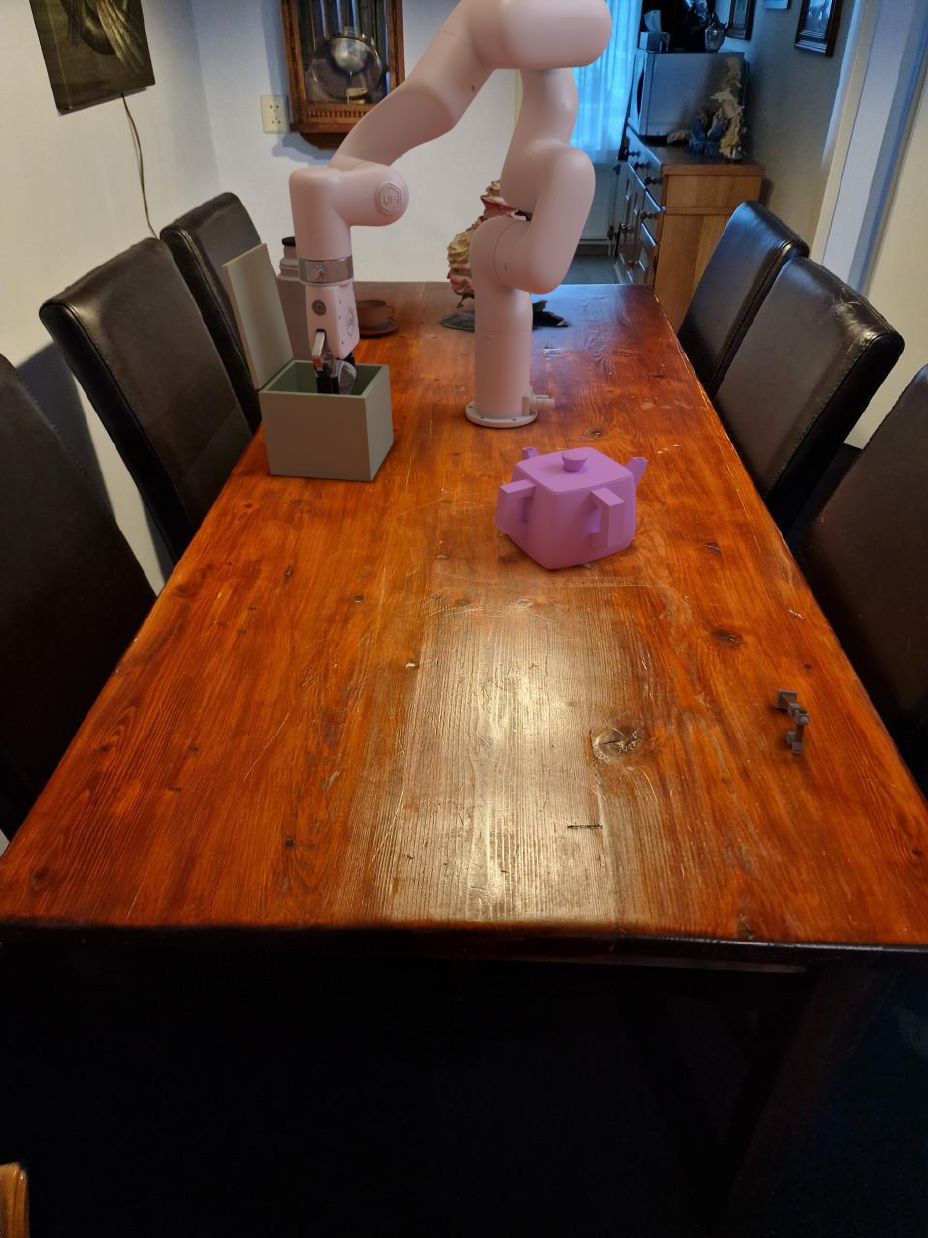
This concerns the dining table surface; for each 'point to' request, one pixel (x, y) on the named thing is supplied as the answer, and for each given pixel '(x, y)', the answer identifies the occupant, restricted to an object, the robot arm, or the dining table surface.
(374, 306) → the cup and saucer
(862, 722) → the dining table surface
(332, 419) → the grey open box
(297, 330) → the thermos bottle
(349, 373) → the watch
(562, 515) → the teakettle
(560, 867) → the dining table surface
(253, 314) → the lid
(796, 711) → the grey jointed linkage
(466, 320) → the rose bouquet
